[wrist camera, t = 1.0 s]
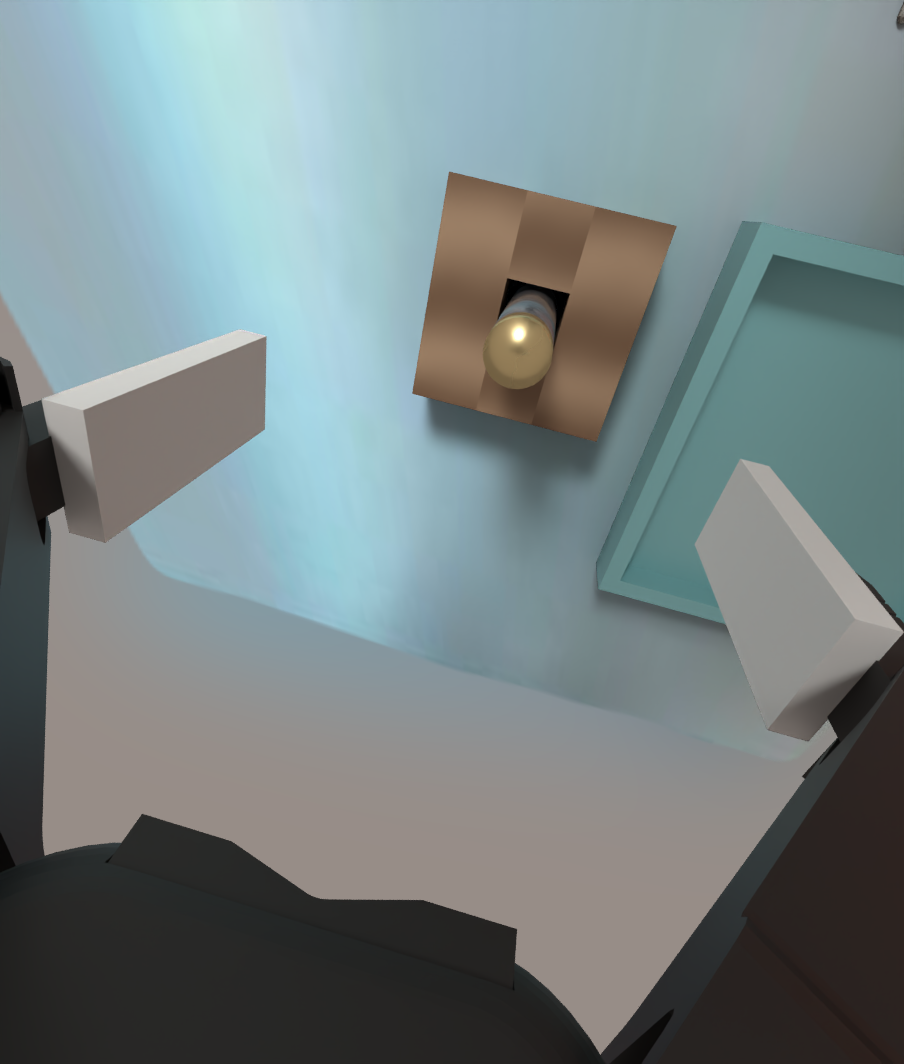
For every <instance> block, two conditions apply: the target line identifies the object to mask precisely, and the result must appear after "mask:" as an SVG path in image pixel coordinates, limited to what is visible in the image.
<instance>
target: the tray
mask: <svg viewBox="0 0 904 1064" xmlns="http://www.w3.org/2000/svg"><path fill="white" fill-rule="evenodd" d="M740 459H743V460H747V461H751V462H755V463H759V464H763V465H766V466H769V467H770V468H771V469H772V470H773V472H774V473H775V474H776V475H777V476H778V478H779V479H780V480H781V481H782V483H783V484H784V485H785V486H786V488H787V489H788V490H789V491H790V492H791V494H792V495H793V496H794V497H795V499H796V500H797V501H798V502H799V504H800V505H801V506H802V507H803V508H804V510H805V511H806V512H807V513H808V515H809V516H810V517H811V518H812V520H813V521H814V522H815V523H816V524H817V526H818V527H819V528H820V529H821V531H822V532H823V533H824V534H825V536H826V537H827V538H828V539H829V541H830V542H831V543H832V544H833V545H834V547H835V548H836V549H837V550H838V552H839V553H840V554H841V555H842V557H843V558H844V559H845V560H846V561H847V563H848V564H849V565H850V566H851V568H852V569H853V570H854V571H855V572H856V573H857V574H859V575H860V576H861V577H862V578H864V579H865V580H866V581H868V582H869V583H870V584H871V585H873V587H874V588H875V589H876V590H877V591H878V593H879V594H880V595H881V596H882V597H883V599H884V600H885V601H886V602H885V604H888V605H889V606H890V607H891V608H892V610H893V611H894V612H895V613H896V614H897V615H896V617H898V618H900V619H901V620H902V622H903V623H904V256H901V255H897V254H893V253H889V252H884V251H880V250H876V249H872V248H868V247H863V246H859V245H855V244H851V243H847V242H842V241H838V240H834V239H830V238H826V237H821V236H817V235H813V234H809V233H804V232H800V231H796V230H792V229H788V228H783V227H779V226H775V225H771V224H767V223H762V222H748V221H743V222H742V224H741V226H740V229H739V231H738V233H737V236H736V238H735V240H734V243H733V245H732V247H731V250H730V252H729V254H728V257H727V259H726V261H725V264H724V266H723V268H722V271H721V273H720V275H719V278H718V280H717V282H716V285H715V287H714V289H713V292H712V294H711V296H710V299H709V301H708V303H707V306H706V308H705V310H704V313H703V315H702V317H701V320H700V322H699V324H698V327H697V329H696V331H695V334H694V336H693V338H692V341H691V343H690V345H689V348H688V350H687V352H686V355H685V357H684V359H683V362H682V364H681V366H680V369H679V371H678V373H677V376H676V378H675V380H674V383H673V385H672V387H671V390H670V392H669V394H668V397H667V399H666V401H665V404H664V406H663V408H662V411H661V413H660V415H659V418H658V420H657V422H656V425H655V427H654V429H653V432H652V434H651V436H650V439H649V441H648V443H647V446H646V448H645V450H644V453H643V455H642V457H641V460H640V462H639V464H638V467H637V469H636V471H635V474H634V476H633V478H632V481H631V483H630V485H629V488H628V490H627V492H626V495H625V497H624V499H623V502H622V504H621V506H620V509H619V511H618V513H617V516H616V518H615V520H614V523H613V525H612V527H611V530H610V532H609V534H608V537H607V539H606V541H605V544H604V546H603V548H602V551H601V553H600V555H599V558H598V560H597V562H596V567H597V579H598V589H600V590H603V591H607V592H611V593H614V594H618V595H621V596H625V597H629V598H632V599H636V600H640V601H643V602H647V603H651V604H654V605H658V606H661V607H665V608H669V609H672V610H676V611H680V612H683V613H687V614H690V615H694V616H698V617H701V618H705V619H709V620H712V621H716V622H719V623H723V624H726V623H725V621H724V618H723V616H722V613H721V611H720V608H719V605H718V603H717V600H716V598H715V595H714V593H713V590H712V588H711V585H710V582H709V580H708V577H707V575H706V572H705V570H704V567H703V565H702V562H701V560H700V557H699V554H698V552H697V549H696V547H695V543H696V541H697V539H698V537H699V535H700V533H701V531H702V530H703V528H704V526H705V524H706V522H707V520H708V518H709V516H710V515H711V513H712V511H713V509H714V507H715V505H716V503H717V501H718V500H719V498H720V496H721V494H722V492H723V490H724V488H725V486H726V485H727V483H728V481H729V479H730V477H731V475H732V473H733V471H734V470H735V468H736V466H737V464H738V462H739V460H740Z"/></svg>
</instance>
